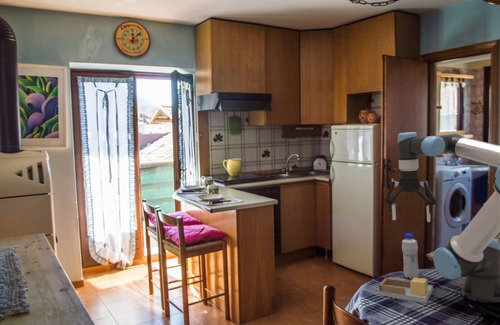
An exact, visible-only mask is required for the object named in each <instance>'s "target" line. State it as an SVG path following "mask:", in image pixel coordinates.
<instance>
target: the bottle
mask: <svg viewBox="0 0 500 325" xmlns="http://www.w3.org/2000/svg"><path fill="white" fill-rule="evenodd" d="M401 249H402V250H401V251H402V257H403V275H404V277H405V279H409V280H412V279H413V278H414V277H415V278H419V277H420V273H419V272H420V270H419V262H418V261H419V260H418V251H419V250H418V249H419V247H418V241H417V240H416V239H414V235H413V234H412V233H409V232H408V233H405V234H404V239H402V241H401Z"/></svg>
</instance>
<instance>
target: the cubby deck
mask: <svg viewBox="0 0 500 325" xmlns="http://www.w3.org/2000/svg"><path fill="white" fill-rule="evenodd" d="M427 286H428V292H427V294H426V295H425V296H422V295H415V294H411V281H410V280H409V281H405V280H398V279H390V278H389V277H384V278H383V280H382V281H381V282H380V283H379V284H378V290H377V294H378V295H382V296H381V297H383V296H388V297H387V298H389V297H392V298H391V299H395V298H397V299H396V300H403V301H410V302H415V303H422V304H427V302H428V301H429V299H430V297H431V295H432V293H433V291H434V286H433V285H430V284H427ZM378 295H377V296H378Z"/></svg>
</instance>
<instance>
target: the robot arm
mask: <svg viewBox="0 0 500 325" xmlns="http://www.w3.org/2000/svg"><path fill="white" fill-rule="evenodd" d="M396 144H397V155H398V170H399V172H398V173H399V176H398V177H399V178H398V179H399V181H395V180H393V181H392V182H391V185H390V186H391V187H390V189H389V191H388V194H387V195H386V196H385V197H386V198H385V200H384V203H385V204H388V205H389V212H390V213H391V214H392V221H395V220H397V213H396V212H397V211H396V210H397V209H396V203H395V202H396V201H397V199H398V198H399V197H400V196H401V195H402V194H403V193H404V192H405V193H416V194H418V196H419V197H421V199H422V200H423V201H424V202H425V203H426V221H427V223H430V222H431V214H433V212H434V205H437V204H438V200H437V198H436V197H435V195H434V193H433V191H432V190H431V188H430V187H429V182H428V181H427V180H425V181H420V175H419V174H420V173H419V172H420V171H419V156H422V157H423V156H424V157H438V156H441V155H447V154H450V155H453V156H457V157H461V158H465V159H468V160H471V161H474V162H479V163H482V164H485V165H489V166H492V167H495V168H497V169H496V171H495V174H494V178H495V180H494V181H495V182H494V183H493V189H494V191H493V193H492V194H491V195H490V197H489V198H488V199H487V200H486V202H485V203H484V205H483V206H482V207H481V208H480V209H479V210H478V212H477V213H476V215H475V216H474V217H473V218H472V219H471V221H470V222H469V223H468V224H467V226H466V227H465V228H464V230H462V231H461V233H460V235H458V234H457V235H453V236H452V237H451V239H450V240H449V241H448V242H447V243H446V245H445V246H441V247H438V248H437V249H435V250H434V252H433V255H432V259H433V260H432V261H433V265H434V268H435V269H436V270H437V272H438V273H439V274H440V275H441V276H442V277H443V278H445V279H446V280H447V279H448V280H459V279H461V278H464V277H465V278H464V281H463V284H462V287H461V295H462V296H463V298H465V297H464V295H468V296H470V297H473V298H476V299H478V300H484V301H491V302H500V242H499V240H498V239H497V238H496V237H497V236H498V235H499V234H500V145H498V144H494V143H489V142H485V141H481V140H478V139H477V140H476V139H472V138H469V137H466V135H463V134H462V133H461V134H460V133H452V134H442V135H441V134H440V135H430V136H428V135H426V136H418V133H417V132H415V131H411V132H399V133H398V135H397V143H396ZM398 186H399V187H400V189H399V191H398V192H397V193H396V194H395V195H394V196H393V198H392V199H391V197H392V195H393V193H394V191H395V190H396V188H397V187H398ZM420 186H421V187H423V188H424V190H425V193H427V195H428V197H427V195H426V194H425V193H424V192H423V191H422V190H421V188H420ZM390 199H391V200H390Z"/></svg>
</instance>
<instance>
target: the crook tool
mask: <svg viewBox="0 0 500 325" xmlns="http://www.w3.org/2000/svg"><path fill="white" fill-rule="evenodd" d="M388 278H390V279H398V280H405V281H410V279H409V278H401V277H400V278H399V277H398V278H397V277H391V276H390V277H388Z"/></svg>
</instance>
